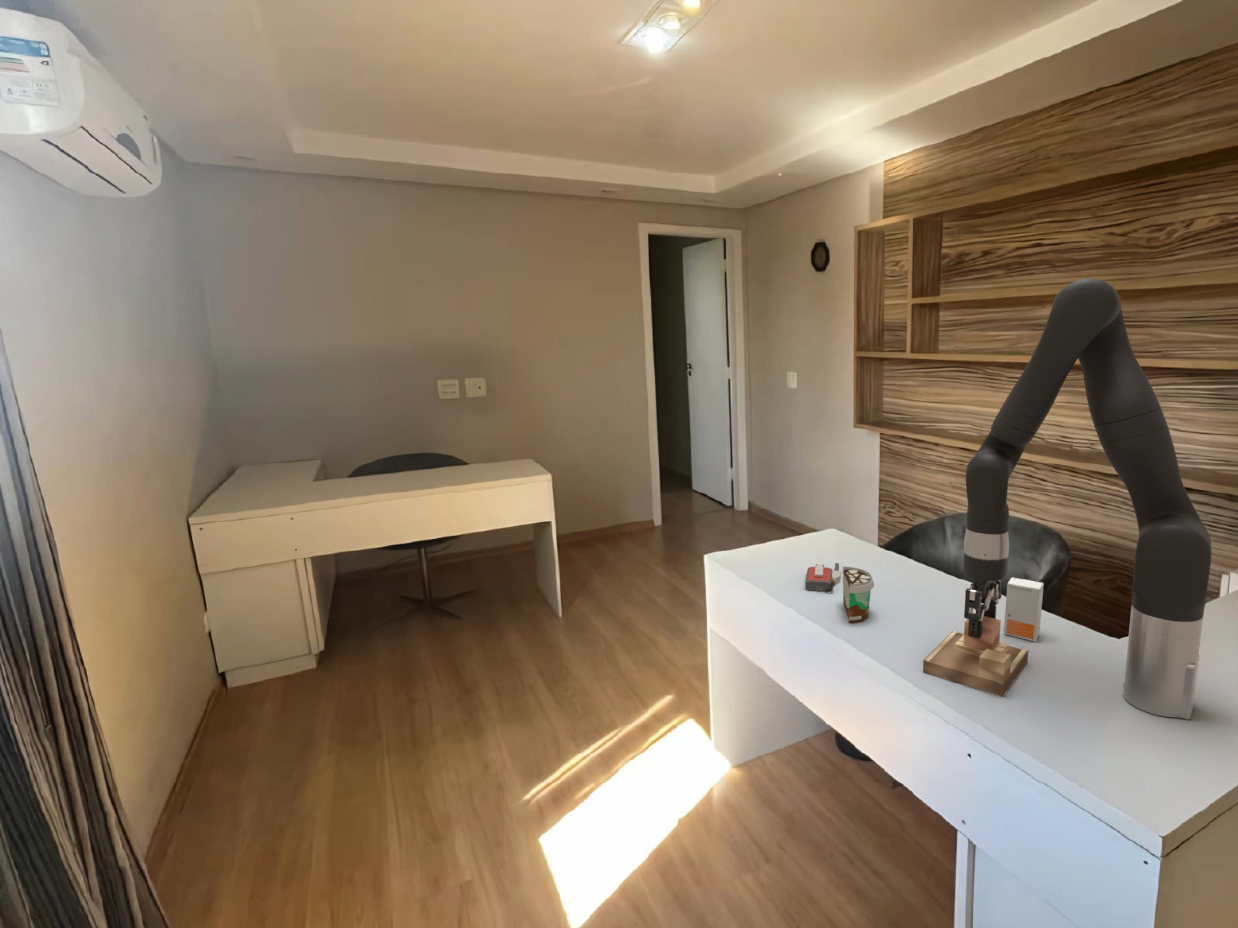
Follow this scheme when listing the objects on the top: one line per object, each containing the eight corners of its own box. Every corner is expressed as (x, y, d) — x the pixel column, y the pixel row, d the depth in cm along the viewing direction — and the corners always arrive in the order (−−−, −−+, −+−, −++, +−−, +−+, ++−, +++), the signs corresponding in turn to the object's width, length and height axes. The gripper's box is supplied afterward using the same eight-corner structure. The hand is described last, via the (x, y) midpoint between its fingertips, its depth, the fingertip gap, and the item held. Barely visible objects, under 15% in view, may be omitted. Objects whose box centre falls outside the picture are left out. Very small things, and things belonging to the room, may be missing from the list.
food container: (878, 626, 146) (878, 585, 144) (849, 625, 148) (850, 584, 146) (868, 604, 158) (869, 565, 156) (842, 603, 159) (842, 565, 157)
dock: (1027, 662, 127) (1028, 650, 127) (1002, 696, 116) (1003, 683, 116) (952, 641, 137) (952, 630, 137) (922, 671, 126) (923, 659, 126)
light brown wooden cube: (1010, 674, 119) (1010, 654, 118) (1003, 683, 116) (1003, 662, 115) (986, 668, 122) (986, 648, 121) (979, 676, 119) (979, 656, 118)
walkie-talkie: (840, 596, 165) (841, 568, 183) (840, 580, 164) (841, 553, 182) (804, 593, 168) (808, 566, 186) (804, 577, 167) (808, 552, 185)
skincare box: (1003, 634, 139) (1006, 582, 136) (1008, 627, 142) (1011, 576, 140) (1036, 642, 135) (1039, 588, 132) (1040, 635, 138) (1044, 582, 135)
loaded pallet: (1008, 650, 128) (1009, 621, 126) (998, 661, 123) (1000, 631, 122) (964, 638, 133) (966, 610, 132) (954, 649, 129) (955, 620, 128)
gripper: (995, 566, 117) (991, 648, 120) (1018, 545, 127) (1014, 621, 130) (951, 557, 122) (948, 636, 125) (976, 538, 132) (973, 612, 135)
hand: (982, 629), depth 128 cm, fingers open, 8 cm apart
